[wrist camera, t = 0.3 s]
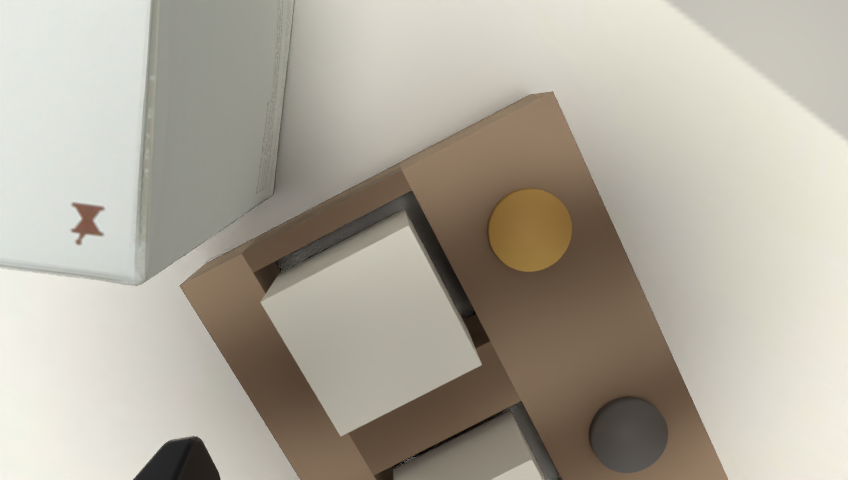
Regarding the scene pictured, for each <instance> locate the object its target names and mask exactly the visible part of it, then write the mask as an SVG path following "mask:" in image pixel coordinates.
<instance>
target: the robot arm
mask: <svg viewBox="0 0 848 480" xmlns="http://www.w3.org/2000/svg"><path fill="white" fill-rule="evenodd" d="M133 480H220V476H219V473H218V470H217V468H216V466H215V464H214V463H213V461H212V459H211V457H210V455H209V453H208V451H207V449H206V447H205V445H204V443H203V441H202V440H201V439H200V438H198V437H194V436H193V437H186V438H179V439H173V440H170V441H168V442H166V443H165V444H164V445H163V446H162V447H161V448H160V449H159V450H158V452H157V453H156V454H155V455H154V456H153V457H152V458H151V460H150V461H149V462H148V463H147V464H146V465H145V467H144V468H143V469H142V470H141V471H140V472H139V473H138V475H137V476H136V477H135V478H134V479H133Z"/></svg>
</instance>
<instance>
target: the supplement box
mask: <svg viewBox="0 0 848 480" xmlns="http://www.w3.org/2000/svg"><path fill="white" fill-rule="evenodd" d="M293 7H294V0H0V268H2V269H10V270H19V271H27V272H36V273H43V274H51V275H59V276H68V277H77V278H85V279H93V280H101V281H107V282H113V283H119V284H125V285H134V286H137V285H140V284H143V283H144V282H146V281H147V280H149V279H150V278H152V277H153V276H155V275H156V274H158V273H159V272H161V271H162V270H164V269H165V268H167V267H168V266H169V265H171V264H172V263H174V262H175V261H177V260H178V259H180V258H181V257H183V256H184V255H186V254H187V253H189V252H190V251H191V250H193V249H194V248H196V247H197V246H199V245H200V244H202V243H203V242H205V241H206V240H207V239H209V238H210V237H212V236H213V235H215V234H216V233H218V232H219V231H221V230H222V229H224V228H225V227H227V226H228V225H230V224H231V223H233V222H234V221H236V220H237V219H238V218H240V217H241V216H243V215H244V214H245V213H247V212H248V211H250V210H251V209H253V208H254V207H256V206H257V205H259V204H260V203H262V202H263V201H265V200H266V199H268V198H269V197H271V196H272V195H273V190H274V181H275V171H276V163H277V153H278V143H279V133H280V125H281V117H282V106H283V97H284V89H285V80H286V71H287V62H288V53H289V44H290V35H291V26H292V17H293Z"/></svg>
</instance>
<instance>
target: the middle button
mask: <svg viewBox="0 0 848 480" xmlns="http://www.w3.org/2000/svg"><path fill="white" fill-rule="evenodd" d="M393 480H547V479H546V477H545V476H544V474H543V472H542V470H541V468H540V466H539V464H538V462H537V460H536V458H535V456H534V455H533V453H532V451H531V449H530V447H529V445H528V443H527V441H526V439H525V437H524V436H523V434H522V432H521V430H520V428H519V426H518V424H517V422H516V420H515V418H514V416H513V415H512V413H511V411H508V412H506V413H504V414H502V415H500V416H498V417H496V418H494V419H492V420H490V421H488V422H486V423H484V424H482V425H480V426H478V427H476V428H474V429H472V430H470V431H468V432H466V433H464V434H462V435H460V436H458V437H456V438H454V439H452V440H450V441H448V442H446V443H444V444H442V445H440V446H438V447H436V448H435V449H433V450H431V451H429V452H427V453H425V454H423V455H421V456H419V457H417V458H415V459H413V460H411V461H409V462H407V463H405V464H403V465H401V466H399V467H397V468H395V469H393Z"/></svg>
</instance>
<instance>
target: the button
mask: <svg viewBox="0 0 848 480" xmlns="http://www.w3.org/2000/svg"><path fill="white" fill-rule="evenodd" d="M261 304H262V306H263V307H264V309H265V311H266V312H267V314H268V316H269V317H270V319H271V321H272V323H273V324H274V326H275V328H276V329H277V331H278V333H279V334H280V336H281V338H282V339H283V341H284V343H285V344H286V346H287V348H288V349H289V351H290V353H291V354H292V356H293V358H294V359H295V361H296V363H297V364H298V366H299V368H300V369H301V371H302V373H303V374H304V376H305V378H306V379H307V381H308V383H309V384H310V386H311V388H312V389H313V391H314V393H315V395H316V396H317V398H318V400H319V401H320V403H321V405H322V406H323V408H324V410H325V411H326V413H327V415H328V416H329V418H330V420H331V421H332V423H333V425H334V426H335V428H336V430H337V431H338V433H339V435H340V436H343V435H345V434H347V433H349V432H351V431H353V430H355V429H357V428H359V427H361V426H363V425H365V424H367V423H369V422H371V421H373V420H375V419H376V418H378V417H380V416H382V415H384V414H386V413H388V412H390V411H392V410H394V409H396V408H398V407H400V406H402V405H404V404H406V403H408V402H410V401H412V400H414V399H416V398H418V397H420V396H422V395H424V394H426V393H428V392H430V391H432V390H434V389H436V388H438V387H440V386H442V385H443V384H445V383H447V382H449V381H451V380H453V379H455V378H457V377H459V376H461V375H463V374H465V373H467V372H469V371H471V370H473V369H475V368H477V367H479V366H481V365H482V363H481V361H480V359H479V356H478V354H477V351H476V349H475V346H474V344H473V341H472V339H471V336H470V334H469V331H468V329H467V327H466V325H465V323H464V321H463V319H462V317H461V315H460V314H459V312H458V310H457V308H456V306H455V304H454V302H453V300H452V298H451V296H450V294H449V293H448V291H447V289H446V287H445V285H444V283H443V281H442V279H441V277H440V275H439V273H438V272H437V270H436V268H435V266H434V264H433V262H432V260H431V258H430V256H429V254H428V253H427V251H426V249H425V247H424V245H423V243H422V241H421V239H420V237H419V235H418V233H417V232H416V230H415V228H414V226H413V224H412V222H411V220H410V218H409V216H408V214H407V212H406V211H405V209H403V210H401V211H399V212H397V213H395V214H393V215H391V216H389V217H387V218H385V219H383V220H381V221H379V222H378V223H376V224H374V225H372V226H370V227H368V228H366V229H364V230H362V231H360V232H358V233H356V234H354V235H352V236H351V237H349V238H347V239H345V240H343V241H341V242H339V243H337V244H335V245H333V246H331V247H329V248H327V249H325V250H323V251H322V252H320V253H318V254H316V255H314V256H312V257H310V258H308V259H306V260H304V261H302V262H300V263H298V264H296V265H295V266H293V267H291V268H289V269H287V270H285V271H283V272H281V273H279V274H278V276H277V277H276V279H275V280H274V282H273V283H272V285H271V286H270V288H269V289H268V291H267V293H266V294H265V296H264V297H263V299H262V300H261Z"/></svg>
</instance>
